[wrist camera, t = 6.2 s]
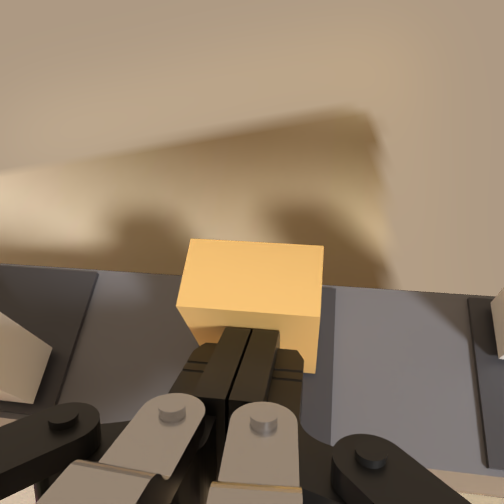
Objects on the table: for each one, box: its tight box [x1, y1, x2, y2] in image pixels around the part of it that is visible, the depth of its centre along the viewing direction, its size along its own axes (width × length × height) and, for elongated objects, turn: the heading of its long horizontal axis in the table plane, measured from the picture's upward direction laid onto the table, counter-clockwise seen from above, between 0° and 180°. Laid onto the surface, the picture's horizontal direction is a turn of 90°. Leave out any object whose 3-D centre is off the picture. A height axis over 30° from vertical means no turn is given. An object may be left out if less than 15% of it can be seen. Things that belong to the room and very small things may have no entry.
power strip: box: [0, 264, 504, 498], centre depth 19 cm, size 24×6×7 cm, turn 83°
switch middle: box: [176, 239, 324, 374], centre depth 14 cm, size 4×2×5 cm, turn 83°
